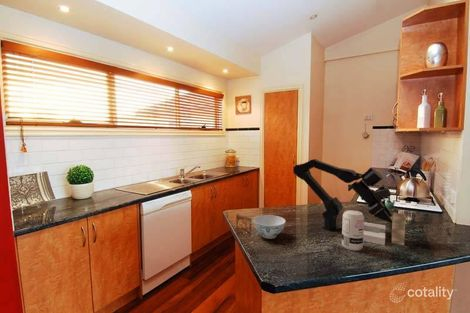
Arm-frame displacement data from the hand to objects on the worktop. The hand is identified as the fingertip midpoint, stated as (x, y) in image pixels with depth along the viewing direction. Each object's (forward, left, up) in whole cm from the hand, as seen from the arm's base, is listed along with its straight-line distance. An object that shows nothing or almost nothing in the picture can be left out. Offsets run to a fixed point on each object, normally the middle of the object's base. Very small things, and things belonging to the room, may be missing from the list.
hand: (391, 219), depth 112 cm
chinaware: (-41, +36, -10) cm, 55 cm away
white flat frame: (-1, +9, -10) cm, 13 cm away
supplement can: (-20, +7, -10) cm, 23 cm away
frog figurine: (+30, +15, -10) cm, 35 cm away
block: (+1, -2, -10) cm, 10 cm away
